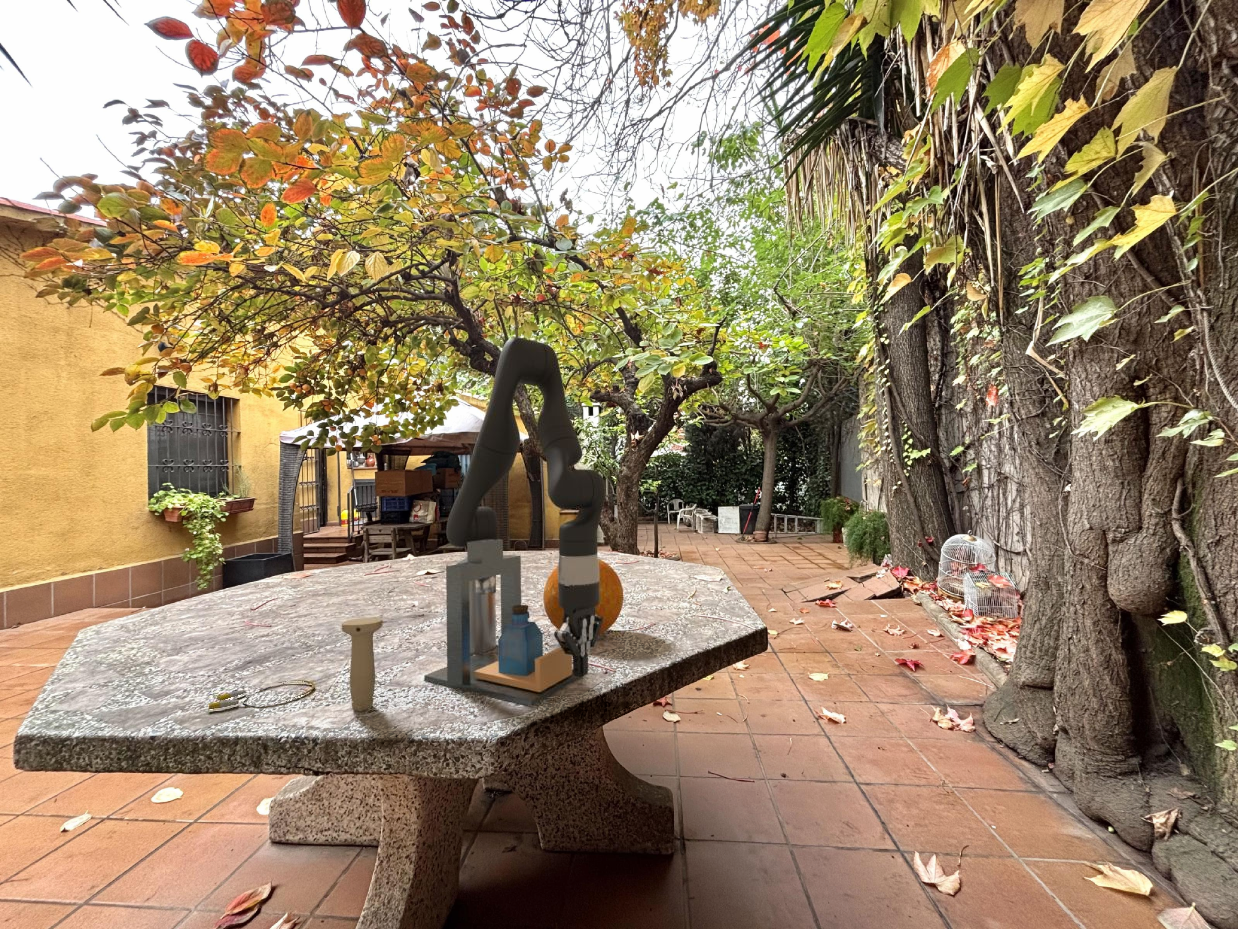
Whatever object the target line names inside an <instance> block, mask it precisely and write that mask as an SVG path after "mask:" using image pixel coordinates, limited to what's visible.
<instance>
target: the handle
mask: <svg viewBox="0 0 1238 929" xmlns="http://www.w3.org/2000/svg"><path fill="white" fill-rule="evenodd" d="M382 627H383V618H382V617H362V618H354V619H353V618H352V619H348V620H345V621H343V622H342V623H341V631H342V632H343V633H344V634H347V635H349V636H350V637H351V647H350V648H351V649H350V650H351V652H350V653H351V654H350V668H349V670H350V671H349V692H350V698H351V701H352V703H351V707H352V710H353V711H356V712H363V711H365V710H370V709H372V706H374V695H375V687H376V666H375V654H374V653H375V651H374V640H373V639H374V634H375V633H376V632H377V631H379V630H380V629H381V628H382ZM369 708H370V709H369Z"/></svg>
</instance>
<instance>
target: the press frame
mask: <svg viewBox="0 0 1238 929" xmlns="http://www.w3.org/2000/svg"><path fill="white" fill-rule="evenodd" d="M466 548H467V549H466V552H467V555H466V556H467V557H466V558H467V562H465V563H460V564H457V563H454V564H450V565H445V580H446V582H445V583H446V584H445V586H446V589H445V590H446V592H445V593H446V594H445V596H446V600H445V601H446V666H444V667H442V668H440V669H437V670H434V671H431V672H429V673H427V674H425V675H424V678H423V680H424V682H428V683H432V684H437V685H440V686H445V687H449V688H453V689H458V690H462V691H466V692H470V693H475V694H478V695H482V696H487V697H490V698H496V699H500V700H503V701H508V702H512V703H516V704H520V705H525V706H528V707H533V706H535V705H536V704H538V703H539V702H541V700H542V701H543V700H545V699H547V698H548V697H550V696H552V695H553V694H556V693H558V692H559V691H561V690H562V689H564V688H565V687H567V686H569V685H571V684H572V683H574V682H575V681H578V680H579V679H581V678H582V677H578V676H575V675H574V673H573V668H572V675H570V676H568V677H566V678H564V679H563V680H561V681H559V682H557V683H555V684H554V685H552V686H550V687H548V688H547V689H545V690H543V691H541V692H537V691H532V690H528V689H523V688H519V687H514V686H510V685H505V684H501V683H496V682H492V681H487V680H483V679H478V678H474V671H476V670H478V669H481V668H483V667H485V666H488V665H490V664H492V663H495V662H497V661H498V654H493V653H488V652H481V653H476V654H475V655H472V656H471V654H470V610H469V581H474V580H476V594H478V595H487V594H493V593H495V594H497V576H499V575H500V630H501V631H500V634H502V632H503V631H504V629H505V627H506V626H507V625H509V624H511V623H513V619H511V614H512V613H513V609H512V607H513V606H516V605H522V567H521V566H522V565H521V564H522V563H521V562H522V561H521V560H522V559H521V558H522V557H521V555H516V554H514V555H513V554H504V540H503V539H498V540H497V539H486V540H479V541H472V542H467V547H466Z"/></svg>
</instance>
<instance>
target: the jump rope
mask: <svg viewBox="0 0 1238 929" xmlns="http://www.w3.org/2000/svg"><path fill="white" fill-rule="evenodd" d="M286 681H287V680H286ZM286 681H284V682H286ZM291 681H302V682H301V683H308V684H310V683H311V684H312V685H313V687H312V686H311V688H310V689H308V690H307V691H305V692H302V693H300V694H298V695H296V696H293V697H290V699H291V698H295V697H298V696H300V697H301V695H304V694H306V693H308V692H310V691H312V690H313V689H314V688H316V685H315V683H314V682H313V681H311V680H307V679H306V680H303V679H298V680H297V679H294V680H291ZM303 681H304V682H303ZM282 682H283V681H279V682H278V683H282ZM250 690H251V689H249V690H248V691H250ZM314 690H315V689H314ZM314 690H313V691H314ZM246 691H247V690H246V689H242V690H233V691H230V692H227V693H224V694H218V696H216V700H217V699H218V700H220V701H219V702H217V701H216V702H211V703H209V705H208V710H209V709H214V708H222V707H227V706H231V705H236V704H238V703H240V702H239V701H240V700H239V699H234V700H230V699H229V700H225V699H228V698H231V697H235V696H238V695H241V694H243V693H246ZM313 691H312V692H313ZM246 694H247V693H246ZM288 699H289V698H286V699H285V700H288ZM295 699H296V698H295ZM221 700H223V701H221Z"/></svg>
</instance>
